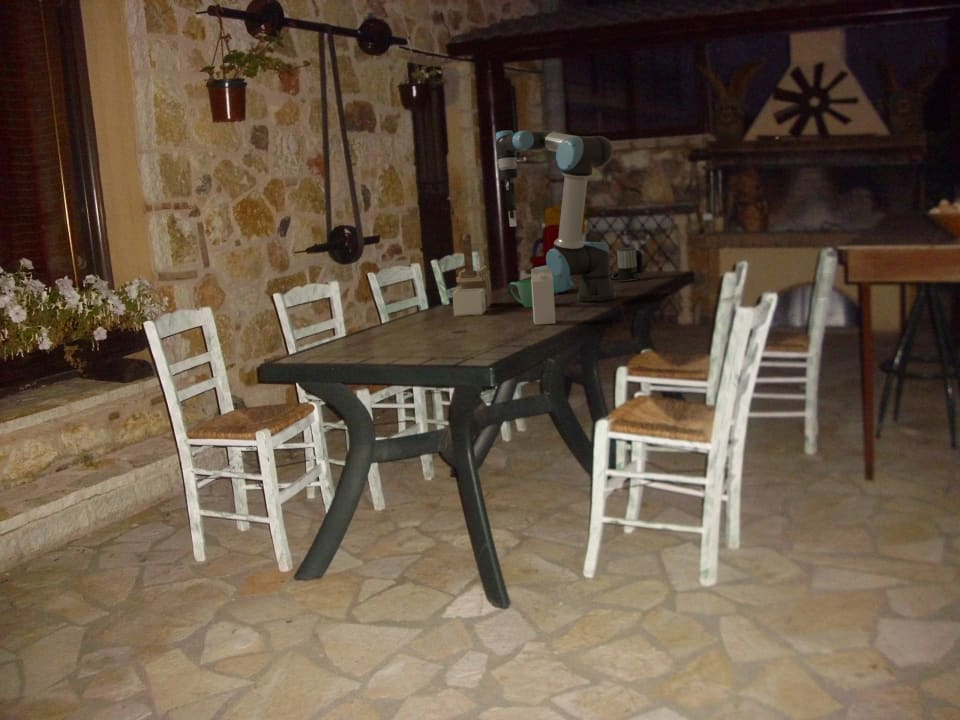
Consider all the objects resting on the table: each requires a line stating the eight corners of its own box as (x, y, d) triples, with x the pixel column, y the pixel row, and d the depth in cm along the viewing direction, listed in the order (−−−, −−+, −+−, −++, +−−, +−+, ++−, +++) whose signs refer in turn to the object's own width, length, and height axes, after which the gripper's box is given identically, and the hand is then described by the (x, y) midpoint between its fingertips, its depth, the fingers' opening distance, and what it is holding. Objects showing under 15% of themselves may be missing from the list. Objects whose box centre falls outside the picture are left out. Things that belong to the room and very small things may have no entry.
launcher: (467, 304, 395) (464, 267, 392) (491, 303, 394) (488, 265, 391) (458, 312, 374) (455, 273, 371) (484, 311, 372) (481, 271, 369)
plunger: (463, 276, 374) (460, 233, 371) (476, 275, 373) (473, 232, 370) (461, 277, 370) (458, 234, 367) (475, 276, 369) (472, 233, 366)
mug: (547, 304, 378) (546, 279, 376) (534, 308, 370) (532, 282, 369) (517, 303, 387) (515, 279, 385) (503, 307, 379) (501, 282, 377)
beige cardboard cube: (458, 312, 376) (457, 289, 374) (485, 310, 374) (484, 287, 372) (454, 316, 365) (452, 293, 363) (482, 315, 363) (480, 291, 362)
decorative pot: (536, 297, 405) (535, 264, 402) (530, 292, 420) (528, 261, 418) (574, 293, 406) (573, 261, 403) (567, 289, 422) (565, 258, 419)
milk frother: (633, 282, 431) (631, 249, 428) (601, 282, 439) (599, 249, 436) (645, 278, 442) (644, 245, 439) (613, 278, 451) (612, 246, 448)
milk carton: (533, 322, 338) (530, 268, 334) (553, 320, 338) (550, 266, 334) (535, 325, 331) (531, 270, 327) (555, 323, 331) (552, 268, 327)
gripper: (501, 171, 404) (507, 227, 406) (496, 169, 391) (501, 226, 393) (519, 169, 402) (524, 225, 404) (514, 166, 389) (519, 224, 392)
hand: (513, 226), depth 399 cm, fingers closed
